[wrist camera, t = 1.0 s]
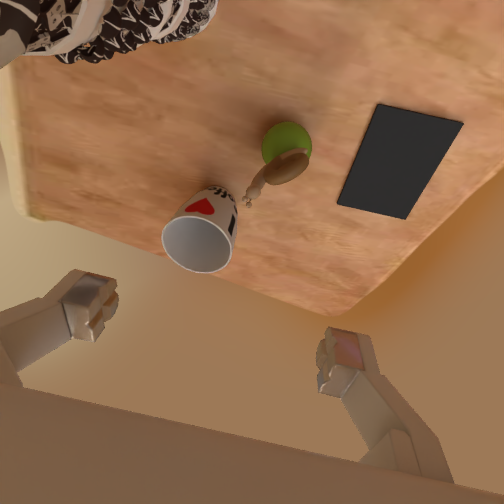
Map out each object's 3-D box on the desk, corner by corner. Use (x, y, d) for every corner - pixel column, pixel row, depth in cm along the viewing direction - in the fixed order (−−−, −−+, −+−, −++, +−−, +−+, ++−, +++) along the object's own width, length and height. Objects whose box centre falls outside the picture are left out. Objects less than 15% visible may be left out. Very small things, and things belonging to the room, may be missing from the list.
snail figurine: (248, 135, 34) (227, 179, 25) (298, 105, 32) (295, 143, 22) (271, 174, 37) (259, 227, 28) (319, 150, 34) (323, 199, 25)
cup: (257, 199, 39) (245, 243, 32) (227, 236, 44) (210, 283, 36) (206, 163, 37) (179, 201, 29) (179, 206, 42) (150, 249, 34)
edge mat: (377, 103, 30) (378, 104, 30) (462, 122, 30) (464, 123, 30) (336, 202, 38) (337, 204, 38) (404, 218, 38) (405, 219, 38)
